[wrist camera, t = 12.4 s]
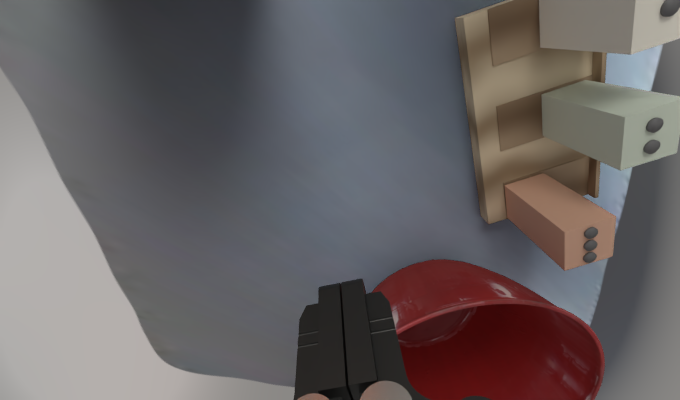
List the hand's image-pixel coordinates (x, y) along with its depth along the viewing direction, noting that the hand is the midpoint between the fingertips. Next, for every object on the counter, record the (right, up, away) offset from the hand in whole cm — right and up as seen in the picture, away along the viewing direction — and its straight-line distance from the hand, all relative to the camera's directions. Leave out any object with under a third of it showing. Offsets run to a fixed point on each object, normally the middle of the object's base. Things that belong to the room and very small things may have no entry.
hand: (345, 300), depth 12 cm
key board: (+20, +13, +25) cm, 35 cm away
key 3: (+21, +4, +28) cm, 35 cm away
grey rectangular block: (+20, +20, +19) cm, 35 cm away
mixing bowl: (+12, -11, +37) cm, 40 cm away
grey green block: (+23, +13, +23) cm, 35 cm away
